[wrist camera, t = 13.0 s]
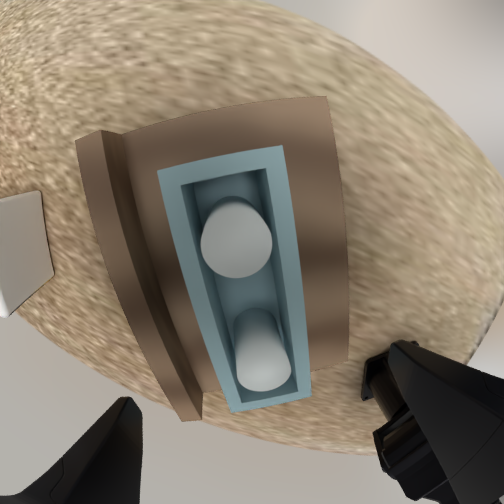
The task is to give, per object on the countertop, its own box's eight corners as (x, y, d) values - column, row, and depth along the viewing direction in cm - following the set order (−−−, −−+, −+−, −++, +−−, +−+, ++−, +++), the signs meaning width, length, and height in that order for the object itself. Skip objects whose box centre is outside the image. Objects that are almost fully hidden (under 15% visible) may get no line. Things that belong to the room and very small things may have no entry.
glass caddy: (293, 348, 19) (313, 401, 14) (228, 362, 19) (231, 418, 14) (263, 150, 15) (285, 144, 10) (177, 168, 15) (153, 171, 9)
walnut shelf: (339, 347, 22) (361, 384, 18) (186, 379, 22) (181, 421, 17) (315, 102, 16) (347, 84, 11) (111, 144, 15) (75, 140, 11)
